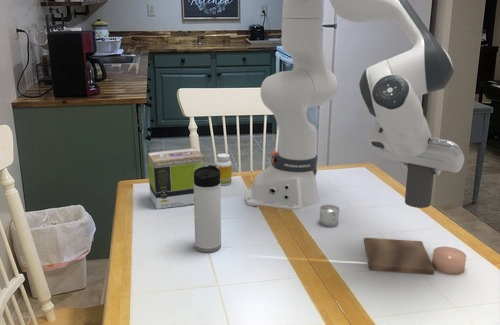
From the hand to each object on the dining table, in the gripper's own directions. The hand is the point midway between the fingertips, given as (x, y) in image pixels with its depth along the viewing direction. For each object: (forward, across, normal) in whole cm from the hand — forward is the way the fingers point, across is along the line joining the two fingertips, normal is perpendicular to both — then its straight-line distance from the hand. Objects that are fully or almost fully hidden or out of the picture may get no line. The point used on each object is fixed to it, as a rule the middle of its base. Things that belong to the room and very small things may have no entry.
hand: (421, 168), depth 118 cm
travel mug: (-8, +38, +37) cm, 54 cm away
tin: (+13, +23, +16) cm, 31 cm away
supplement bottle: (+17, +66, +12) cm, 69 cm away
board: (+10, +1, +19) cm, 22 cm away
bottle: (+6, 0, +6) cm, 9 cm away
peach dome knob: (+13, -10, +17) cm, 23 cm away
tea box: (+3, +66, +26) cm, 71 cm away
